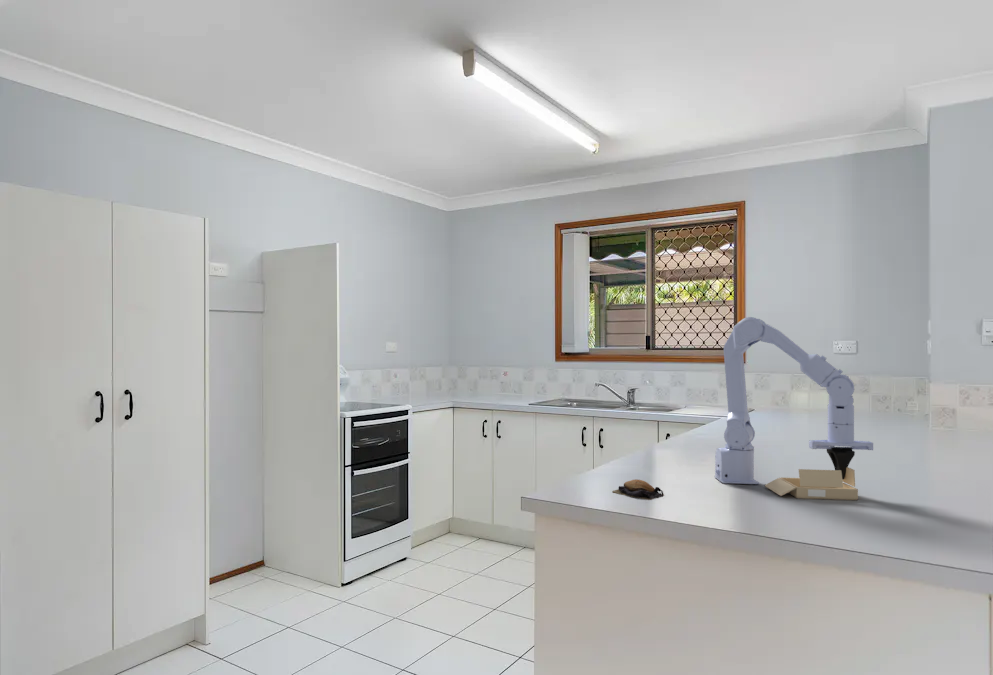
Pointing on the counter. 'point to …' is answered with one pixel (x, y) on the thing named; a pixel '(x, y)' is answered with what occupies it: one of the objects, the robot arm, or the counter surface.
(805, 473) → the front flap
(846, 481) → the right flap
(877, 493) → the counter surface
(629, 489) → the brown black domed lump
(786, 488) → the carton
